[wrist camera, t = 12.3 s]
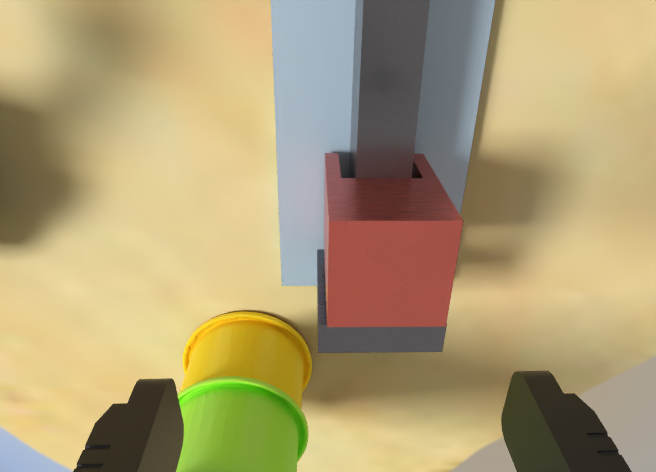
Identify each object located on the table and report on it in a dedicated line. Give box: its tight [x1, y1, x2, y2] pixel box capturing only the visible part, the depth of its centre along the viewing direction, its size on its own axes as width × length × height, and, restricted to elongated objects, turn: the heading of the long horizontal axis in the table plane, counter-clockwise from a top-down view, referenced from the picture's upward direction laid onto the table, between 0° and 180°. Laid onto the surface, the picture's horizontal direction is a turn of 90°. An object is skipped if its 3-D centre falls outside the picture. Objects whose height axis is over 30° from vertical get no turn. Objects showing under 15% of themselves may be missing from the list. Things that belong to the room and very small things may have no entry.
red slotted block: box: [324, 153, 463, 327], centre depth 27 cm, size 6×6×9 cm
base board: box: [271, 0, 495, 286], centre depth 30 cm, size 22×12×1 cm, turn 179°
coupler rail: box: [317, 0, 447, 353], centre depth 26 cm, size 20×7×8 cm, turn 179°
